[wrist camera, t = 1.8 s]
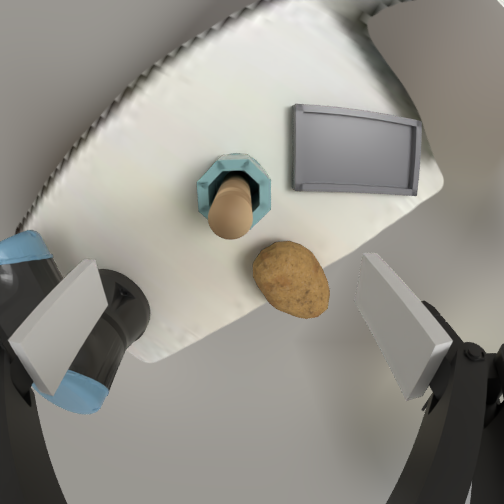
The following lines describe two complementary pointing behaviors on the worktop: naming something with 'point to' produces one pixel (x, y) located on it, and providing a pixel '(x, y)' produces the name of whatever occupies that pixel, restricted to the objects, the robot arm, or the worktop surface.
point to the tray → (354, 151)
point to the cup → (257, 182)
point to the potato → (292, 279)
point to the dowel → (232, 207)
